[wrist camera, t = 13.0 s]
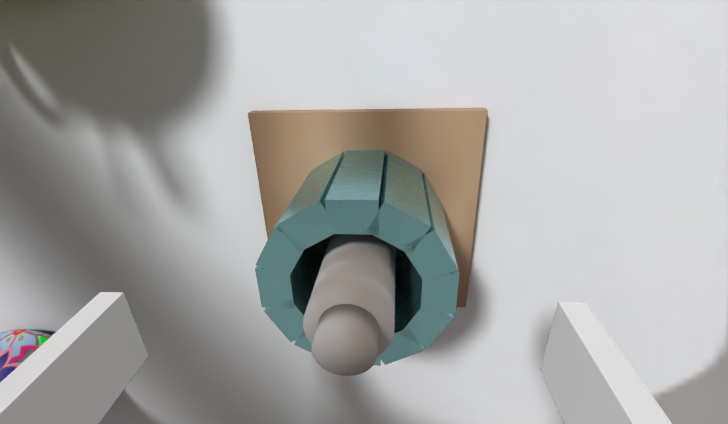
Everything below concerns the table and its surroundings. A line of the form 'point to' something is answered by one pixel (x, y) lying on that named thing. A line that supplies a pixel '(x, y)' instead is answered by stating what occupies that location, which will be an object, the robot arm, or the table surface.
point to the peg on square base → (359, 251)
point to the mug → (18, 348)
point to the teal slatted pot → (370, 217)
